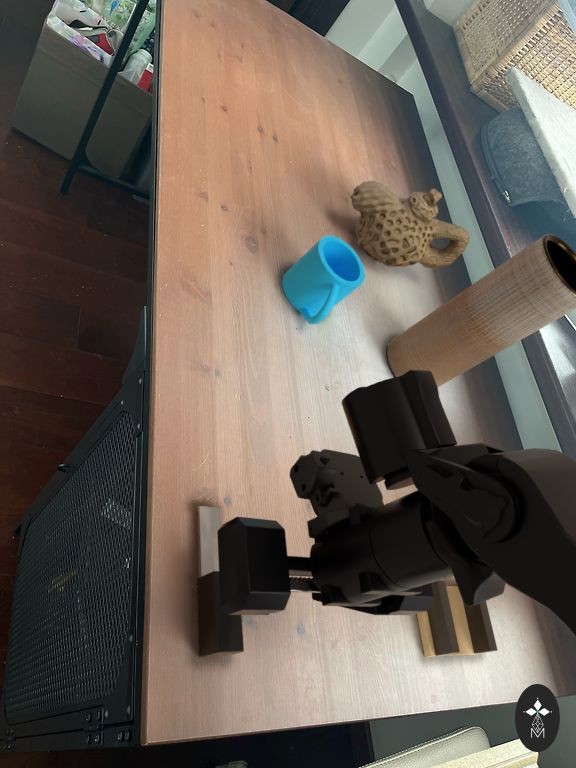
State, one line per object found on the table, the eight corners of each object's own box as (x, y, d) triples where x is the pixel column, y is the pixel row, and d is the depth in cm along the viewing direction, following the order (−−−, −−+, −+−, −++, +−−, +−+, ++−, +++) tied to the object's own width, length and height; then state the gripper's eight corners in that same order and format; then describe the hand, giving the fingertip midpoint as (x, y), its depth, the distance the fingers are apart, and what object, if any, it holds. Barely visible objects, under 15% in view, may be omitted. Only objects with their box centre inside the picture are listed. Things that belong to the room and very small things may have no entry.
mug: (285, 259, 89) (320, 225, 84) (329, 286, 93) (365, 255, 87) (276, 321, 82) (313, 288, 76) (323, 348, 86) (363, 318, 80)
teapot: (322, 240, 97) (389, 177, 87) (328, 195, 104) (390, 132, 94) (419, 306, 106) (490, 256, 95) (419, 261, 113) (485, 210, 102)
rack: (464, 588, 81) (485, 582, 79) (479, 654, 77) (502, 650, 75) (411, 586, 76) (432, 580, 73) (424, 657, 72) (447, 653, 69)
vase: (436, 401, 96) (603, 310, 77) (391, 387, 91) (558, 285, 72) (425, 347, 101) (579, 249, 82) (381, 331, 96) (535, 221, 76)
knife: (225, 656, 57) (244, 651, 55) (199, 657, 56) (216, 652, 54) (218, 509, 64) (234, 500, 62) (194, 507, 62) (210, 497, 60)
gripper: (462, 454, 51) (340, 510, 61) (277, 412, 40) (169, 489, 51) (497, 594, 46) (357, 629, 56) (294, 588, 35) (170, 632, 46)
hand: (270, 592), depth 52 cm, fingers open, 9 cm apart
